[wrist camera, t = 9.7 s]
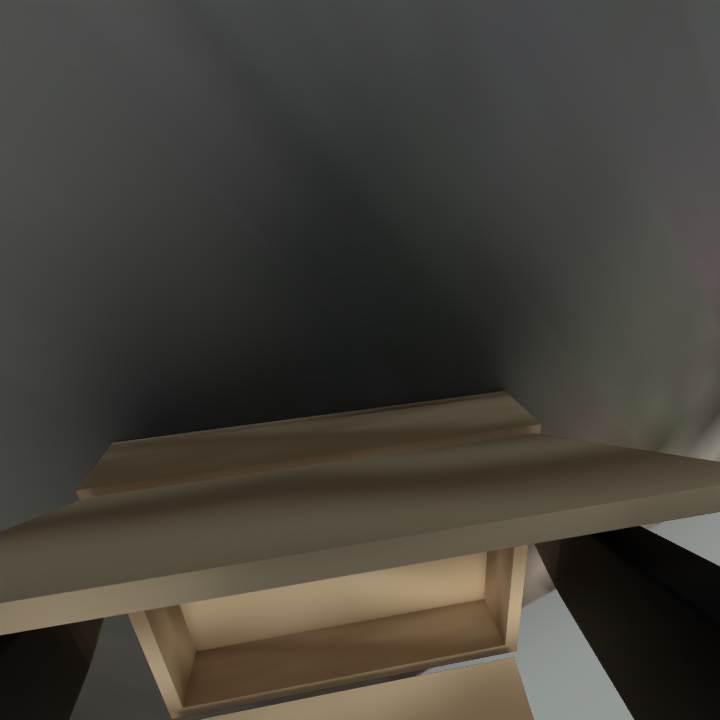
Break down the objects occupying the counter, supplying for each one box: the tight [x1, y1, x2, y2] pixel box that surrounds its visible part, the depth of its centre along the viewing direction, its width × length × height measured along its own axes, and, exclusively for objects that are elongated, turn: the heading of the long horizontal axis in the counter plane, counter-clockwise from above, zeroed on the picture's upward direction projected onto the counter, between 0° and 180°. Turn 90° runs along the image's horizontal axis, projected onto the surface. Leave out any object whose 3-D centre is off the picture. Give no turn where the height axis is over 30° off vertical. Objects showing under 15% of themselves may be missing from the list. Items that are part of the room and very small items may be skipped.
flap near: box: [0, 433, 720, 635], centre depth 10 cm, size 8×15×1 cm
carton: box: [75, 391, 541, 719], centre depth 18 cm, size 13×16×3 cm
